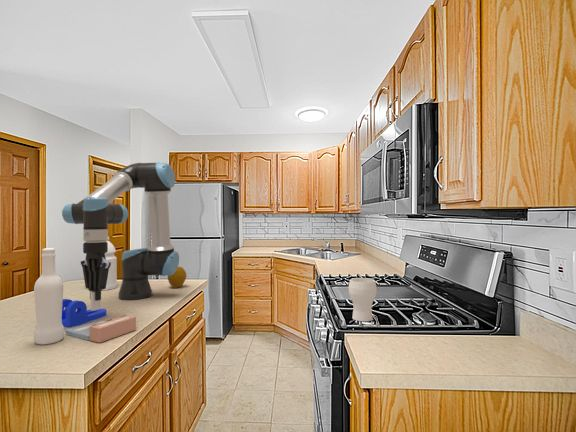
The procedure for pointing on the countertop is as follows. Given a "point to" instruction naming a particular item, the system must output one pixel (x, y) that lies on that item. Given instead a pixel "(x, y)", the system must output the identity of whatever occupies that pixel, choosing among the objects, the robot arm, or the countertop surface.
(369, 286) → the cup
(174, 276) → the apple
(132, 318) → the stub
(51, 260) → the bottle
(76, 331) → the ticket
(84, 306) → the bracket
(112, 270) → the bottle
